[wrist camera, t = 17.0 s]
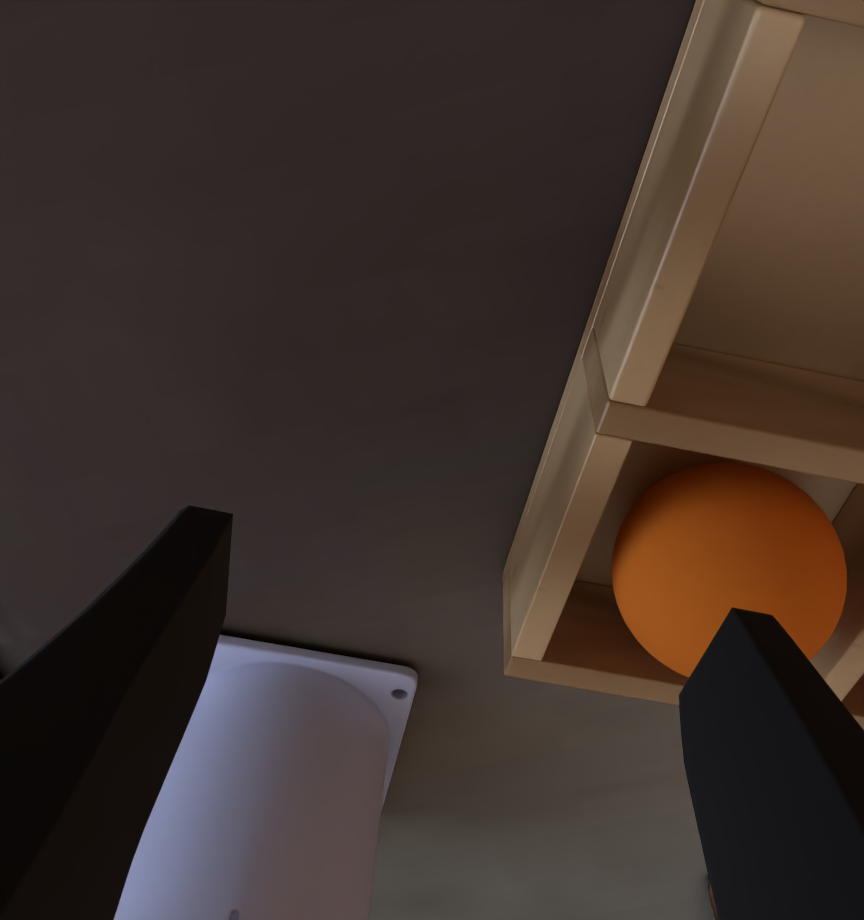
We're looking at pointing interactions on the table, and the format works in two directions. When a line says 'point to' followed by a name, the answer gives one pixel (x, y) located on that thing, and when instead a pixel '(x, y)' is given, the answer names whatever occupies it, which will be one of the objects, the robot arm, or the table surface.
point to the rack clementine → (726, 561)
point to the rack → (713, 336)
